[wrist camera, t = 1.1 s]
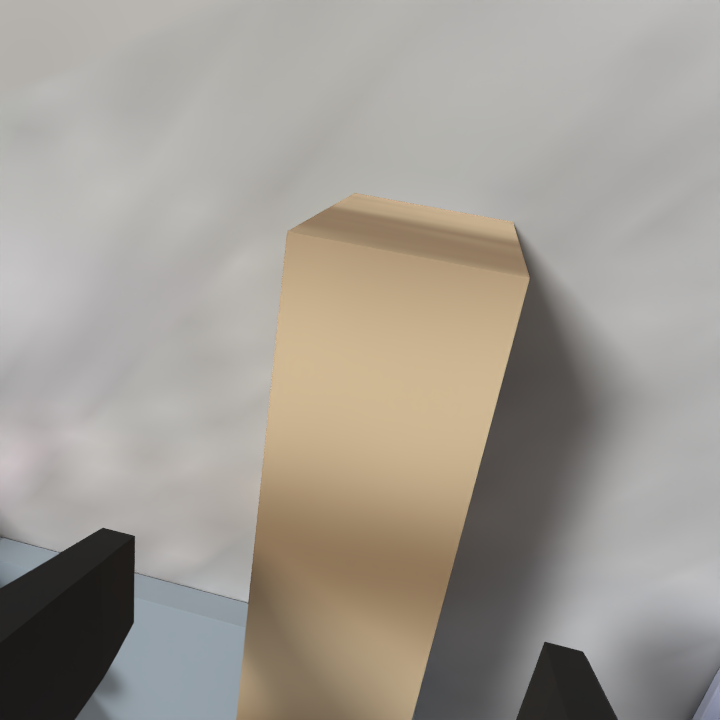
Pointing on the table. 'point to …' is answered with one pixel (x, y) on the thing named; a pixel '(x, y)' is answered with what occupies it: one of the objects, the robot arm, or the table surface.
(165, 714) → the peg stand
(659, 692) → the table surface
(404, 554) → the oak plank
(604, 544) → the table surface
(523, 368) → the table surface
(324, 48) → the table surface
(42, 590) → the robot arm
